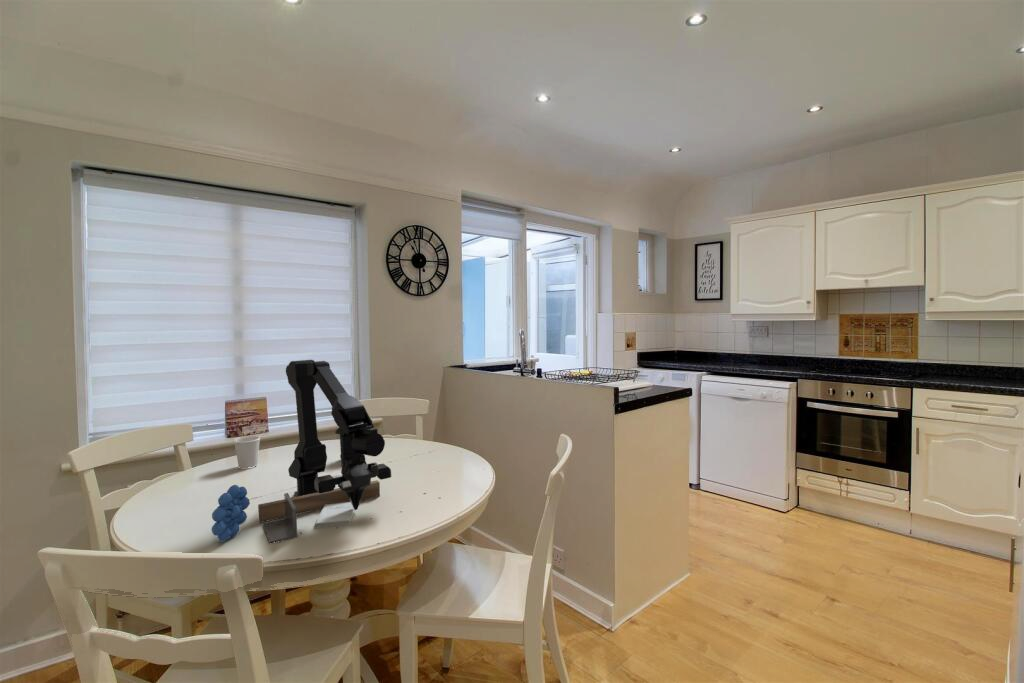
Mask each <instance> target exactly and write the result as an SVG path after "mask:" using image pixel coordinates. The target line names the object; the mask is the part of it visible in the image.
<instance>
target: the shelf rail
mask: <svg viewBox="0 0 1024 683" xmlns="http://www.w3.org/2000/svg"><path fill="white" fill-rule="evenodd" d="M380 484H381V483H380V481H379V480H373V481H372V480H371V483H370V485H368V486H366V488H365V489H364V491H363V493H362V496H361V499H360V501H362V500H367V499H371V498H376V496H377V497H379V496H381V491H380V490H381V488H380V487H381V486H380ZM290 498H291V499H292V501H293V503H294V505H295V507H296V515H300V514H304V513H309V512H314V511H317V510H322V509H323V507H324V505H326V504H335V503H347V502H350V500H349V497H348V495H347V493H346V492H345V491H342V490H341V489H340V488H339V487H338V488H334V489H333V491H329V492H325V493H313V494H308V495H303V496H298V497H296V496H294V497H290ZM257 508H258V511H257V512H258V523H263V522H262V521H264V522H268V521H267V520H269V521H273V520H277V519H276V518H278V519H283V518H285V498H283V499H278V500H274V501H269V502H265V503H264V502H263V503H261V504H257ZM272 519H273V520H272Z"/></svg>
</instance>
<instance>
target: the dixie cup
mask: <svg viewBox="0 0 1024 683" xmlns="http://www.w3.org/2000/svg"><path fill="white" fill-rule="evenodd" d="M260 440H261V437H260V436H258V435H257V436H256V435H252V436H251V435H250V436H241V437H238V438H235V439H233V443H234V448H235V454H236V458H237V465H238V468H239V467H240V468H248V467H253V466H255V465H257V466H258V464H259V463H258V462H259V451H260Z"/></svg>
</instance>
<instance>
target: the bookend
mask: <svg viewBox="0 0 1024 683" xmlns="http://www.w3.org/2000/svg"><path fill="white" fill-rule="evenodd" d="M291 498H292V497H291V496H290V494H289V493H288V492H286V493H285V492H284V499H285V517H284V518H280V519H276V520H271V521H267V522H264V523H263V522H262V523H263V528H264V532H265V534H266V536H267V540H268V543H269V544H270V543H271V544H274V542H275V543H278V541H279V542H283V541H287V540H291V539H294V538H295V539H296V538H298V524H297V522H298V521H297V520H298V519H297V516H298V515H297V514H296V507H295V505H294V503H293V501H292V499H291ZM282 540H283V541H282Z"/></svg>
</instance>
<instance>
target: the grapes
mask: <svg viewBox="0 0 1024 683" xmlns="http://www.w3.org/2000/svg"><path fill="white" fill-rule="evenodd" d="M247 495H248V491H247V488H246V487H245V486H239V485H238V484H233V485H231V486H229V488H228V489H227V492H224V493H222V494H221V495H220V496H219V497H218V499H217V504H218V506H217V507H216V508H215V509H214V510H213V512H212V513H211V518H212V520H213V521H214V522H215V523H213V525H212V527H211V533H212V535H213V536H215V537H216V536H217V540H218V541H219V542H221V543H223V542H225V541H227V540H228V539H229V538H233V537H235V536H236V535H237V534H238V533H239V532H240V525H242V524H243V523H245V521H246V520H247V517H248V516H247V515H248V514H247V513H246V512H245V510H246V509H247V508H248V507H249V506H250V504H251V503H250V499H249V498H248V497H247Z"/></svg>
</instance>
